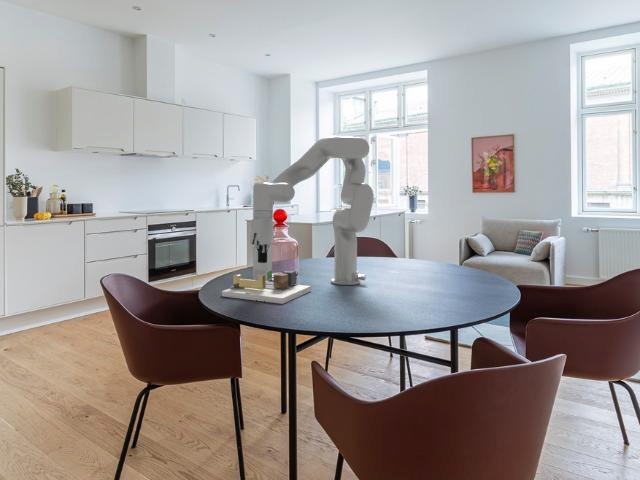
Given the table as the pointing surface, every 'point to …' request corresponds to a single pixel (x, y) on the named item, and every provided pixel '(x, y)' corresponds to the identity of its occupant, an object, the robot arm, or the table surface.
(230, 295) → the panel
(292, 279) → the gray slider
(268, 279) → the skincare box
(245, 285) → the brass lever
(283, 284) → the walnut slider
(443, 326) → the table surface
